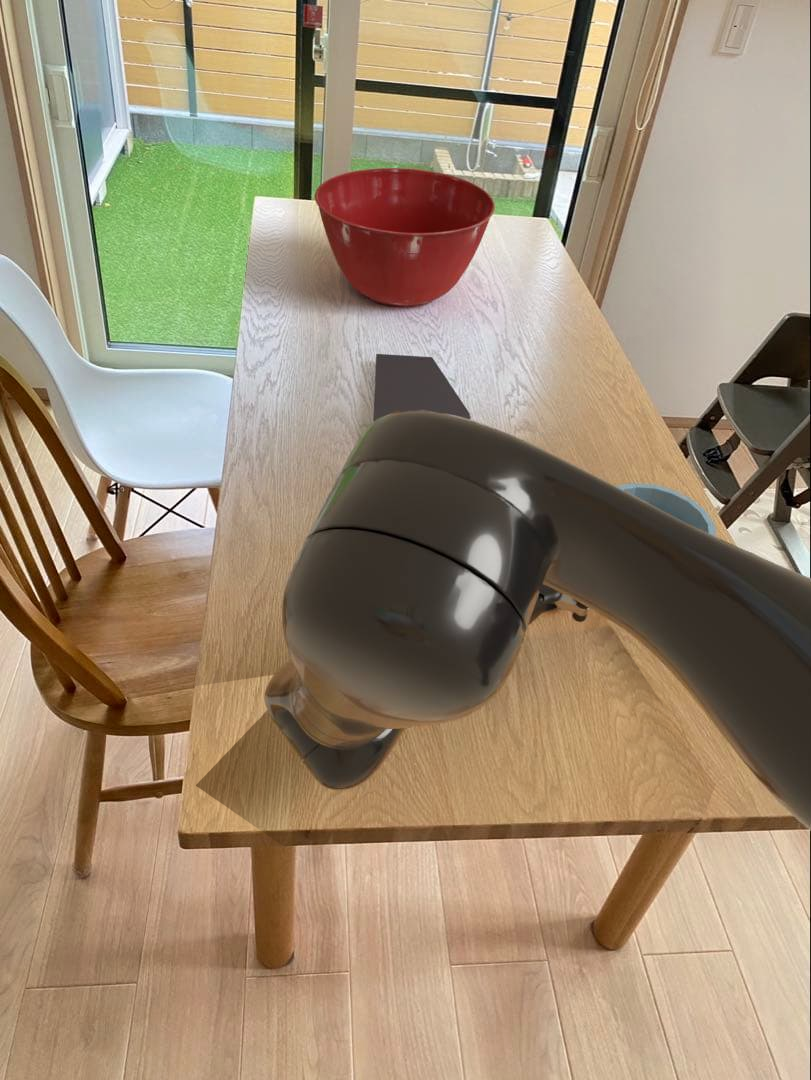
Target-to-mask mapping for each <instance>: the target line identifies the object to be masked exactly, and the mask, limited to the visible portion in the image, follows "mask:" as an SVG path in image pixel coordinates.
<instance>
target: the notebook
mask: <svg viewBox="0 0 811 1080" xmlns="http://www.w3.org/2000/svg"><path fill="white" fill-rule="evenodd" d="M373 399H374V401H373V421H372V423H373V422H374V421H375V420H377V419H378V418H381V417H383V416H386V415H388V414H391V413H393V412H398V411H408V410H426V411H432V412H439V413H445V414H450V415H456V416H459V417H463V418H466V419H469V420H471V414H470V411H469V410H468V409H467V407H466V406H465V404H464V403H463V401H462V400H461V398H460V397H459V395H458V394H457V392H456V390H455V389H454V388H453V386H452V385H451V383H450V382H449V380H448V379H447V377H446V376H445V374H444V373H443V371H442V370H441V368H440V367H439V365H438V364H437V362H436V361H435V360H434V358H433V357H432V356H422V355H421V356H420V355H419V356H418V355H406V354H405V355H404V354H402V355H401V354H387V353H376V354H375V375H374V397H373Z"/></svg>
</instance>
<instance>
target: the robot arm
mask: <svg viewBox="0 0 811 1080" xmlns="http://www.w3.org/2000/svg"><path fill="white" fill-rule="evenodd" d="M373 421H374V420H373ZM373 421H372V423H371V424H369V425H368V426H367V428H366V429H365V430H364V432H362V434H361V436H359V439H358V440H357V442H356V443H355V445H354V446H353V448H352V449H351V452H350V454H349V455H348V457H347V459H346V461H345V463H344V465H343V467H342V469H341V471H340V473H339V474H338V477H337V478H336V480H335V482H334V484H333V486H332V488H331V490H330V491H329V493H328V495H327V497H326V499H325V501H324V504H323V506H322V507H321V509H320V511H319V513H318V515H317V516H316V519H315V521H314V522H313V524H312V527H311V528H310V530H309V532H308V534H307V536H306V539H305V540H304V542H303V545H302V547H301V548H300V550H299V553H298V554H297V556H296V559H295V561H294V563H293V565H292V568H291V570H290V572H289V574H288V578H287V581H286V585H285V588H284V592H283V598H282V604H281V605H282V606H281V619H282V620H281V621H282V631H283V637H284V642H285V645H286V647H287V648H286V649H287V651H288V654H289V656H290V660H289V661H287V662H285V664H283V665H282V666H281V667H280V668H279V669H278V670H277V671H276V672H275V673H274V675H272V677H271V679H270V680H269V682H268V683H267V685H266V688H265V691H264V697H263V699H264V704H265V707H266V710H267V712H268V714H269V715H270V717H271V719H272V721H273V722H274V724H276V726H277V728H278V729H279V730H280V732H281V733H282V735H283V737H284V738H285V739H286V740H287V741H288V743H289V744H290V746H291V747H292V748H293V750H294V751H295V753H296V754H297V756H298V757H299V758H300V760H302V762H303V764H304V765H305V767H306V768H307V770H308V771H309V773H310V774H311V775H312V777H313V778H314V780H316V782H317V783H318V784H319V785H320V786H322V787H324V788H326V789H328V790H332V791H346V790H351V789H354V788H356V787H358V786H361V785H363V784H364V783H366V782H367V781H368V780H369V779H371V778H372V777H373V776H374V775H375V774H376V772H378V770H379V769H380V768H381V767H382V765H383V764H384V763H385V761H386V760H387V759H388V757H389V756H390V754H391V753H392V751H393V749H395V746H397V743H398V741H399V740H400V739H401V738H402V736H403V734H404V732H405V731H406V729H407V728H408V729H409V728H414V727H415V728H416V727H426V726H427V727H428V726H435V725H441V724H447V723H450V722H451V723H452V722H455V721H457V720H460V719H461V720H462V719H463V718H466V717H469V716H470V715H472V714H473V713H476V712H478V711H479V710H480V709H482V708H483V707H485V706H486V705H488V703H490V702H491V701H492V700H493V699H494V698H495V697H496V696H497V695H498V693H499V692H500V691H501V689H502V688H503V686H504V685H505V683H506V682H507V680H508V678H509V676H510V675H511V672H512V670H513V668H514V666H515V663H516V661H517V659H518V656H519V654H520V652H521V648H522V644H523V643H524V639H525V636H526V633H527V632H526V631H527V629H528V628H529V627H528V626H529V625H531V624H532V623H533V622H534V621H536V620H537V618H539V617H540V616H541V615H542V614H544V613H548V612H553V611H555V610H557V609H556V608H558V607H559V608H562V609H563V610H565V611H568V612H571V613H572V615H571V616H572V619H573V620H575V622H579V623H582V622H585V621H586V619H587V616H588V614H589V609H590V610H592V611H593V612H596V613H597V614H598V615H600V616H602V617H604V618H606V619H607V620H609V621H611V622H612V623H614V624H615V625H617V626H618V627H620V628H621V629H623V630H624V631H625V632H627V633H628V634H629V635H631V636H632V637H633V638H635V639H636V640H638V642H639V643H641V645H643V646H644V647H645V648H646V649H647V650H648V651H650V652H651V653H652V654H653V655H654V656H655V657H656V658H657V659H658V660H659V661H660V662H661V663H662V664H663V665H664V666H665V667H666V668H667V669H668V671H670V672H671V673H672V674H673V675H674V677H675V678H676V679H677V681H678V682H679V683H680V684H681V685H682V686H683V687H684V688H685V689H686V691H687V692H688V694H690V696H691V697H692V698H693V700H694V701H695V702H696V703H697V704H698V706H699V707H700V708H701V710H702V711H703V712H704V713H705V714H706V716H707V717H708V719H709V720H710V721H711V722H712V724H713V725H714V727H716V729H717V730H718V732H719V733H720V734H721V736H722V737H723V738H724V739H725V740H726V742H727V743H728V744H729V745H730V747H731V748H732V749H733V750H734V752H735V753H736V754H737V756H738V757H739V758H740V760H741V761H742V762H743V764H745V766H747V768H748V769H749V770H750V772H752V774H753V775H754V776H755V777H756V779H758V782H760V783H761V784H762V786H763V787H764V788H765V789H766V791H768V792H769V793H770V795H772V796H773V797H774V798H775V800H776V801H777V802H778V803H779V804H780V805H781V806H782V807H783V808H784V809H785V810H787V811H788V813H790V814H791V815H792V817H794V818H795V819H796V820H797V821H799V823H801V824H802V825H803V826H804V827H806V828H807V829H808V830H809V831H811V577H809V576H806V575H804V574H801V573H799V572H796V571H795V570H792V569H789V568H787V567H785V566H782V565H780V564H777V563H775V562H773V561H771V560H769V559H766V558H764V557H761V556H759V555H757V554H755V553H752V552H750V551H748V550H745V549H744V548H741V547H739V546H737V545H735V544H733V543H730V542H728V541H726V540H724V539H721V538H719V537H717V536H716V537H715V536H713V535H711V534H709V533H707V532H704V531H702V530H700V529H698V528H696V527H694V526H692V525H690V524H688V523H686V522H684V521H682V520H680V519H678V518H676V517H675V516H673V515H671V514H669V513H667V512H665V511H663V510H661V509H659V508H657V507H655V506H653V505H651V504H649V503H647V502H645V501H643V500H641V499H639V498H638V497H636V496H634V495H632V494H630V493H628V492H626V491H624V490H622V489H620V488H618V487H616V486H617V485H615V484H613V483H611V482H609V481H606V480H604V479H603V478H600V477H599V476H597V475H594V474H593V473H591V472H589V471H587V470H585V469H583V468H581V467H579V466H577V465H575V464H573V463H571V462H569V461H567V460H565V459H564V458H561V457H559V456H556V455H555V454H553V453H551V452H549V451H547V450H545V449H543V448H541V447H538V446H536V445H534V443H530V442H528V441H526V440H524V439H521V438H519V437H517V436H515V435H512V434H510V433H508V432H505V431H502V430H500V429H498V428H495V427H492V426H490V425H487V424H483V423H481V422H479V421H475V420H472V419H470V420H469V419H466V418H463V417H459V416H456V415H450V414H445V413H439V412H432V411H426V410H408V411H398V412H393V413H391V414H388V415H386V416H383V417H381V418H378V419H377V420H375V421H374V422H373ZM562 593H563V594H562ZM562 609H561V610H562Z"/></svg>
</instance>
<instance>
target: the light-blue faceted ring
mask: <svg viewBox="0 0 811 1080" xmlns="http://www.w3.org/2000/svg"><path fill="white" fill-rule="evenodd" d="M615 486H616V487H618V488H620V489H622V490H624V491H626V492H628V493H630V494H632V495H634V496H636V497H638V498H639V499H641V500H643V501H645V502H647V503H649V504H651V505H653V506H655V507H657V508H659V509H661V510H663V511H665V512H667V513H669V514H671V515H673V516H675V517H676V518H678V519H680V520H682V521H684V522H686V523H688V524H690V525H692V526H694V527H696V528H698V529H700V530H702V531H704V532H707V533H709V534H711V535H713V536H715V537H717V532H716V525H715V523H714V521H713V520H712V518H711V516H710V515H709V513H708V512H707V511H706V509H704V508H703V507H702V506H701V505H699V504H698V503H697V502H696V501H695V500H694V499H692V498H690V497H688V496H686V495H685V494H683V493H682V492H681V493H680V492H679V491H677V490H675V489H672V488H668V487H665V486H661V485H659V484H656V483H655V484H654V483H642V482H630V483H624V484H623V483H622V484H617V485H615Z"/></svg>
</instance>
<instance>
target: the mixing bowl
mask: <svg viewBox="0 0 811 1080" xmlns="http://www.w3.org/2000/svg"><path fill="white" fill-rule="evenodd" d="M314 200H315V203H316V204H317V206H318V210H319V214H320V218H321V221H322V225H323V228H324V232H325V235H326V238H327V241H328V245H329V247H330V248H331V249H330V250H331V252H332V254H333V256H334V258H335V260H336V263H337V265H338V267H339V269H340V271H341V272H342V274H343V276H344V277H345V279H346V280H347V281H348V283H349V284H350V285H351V286H352V287H353V289H355V290H356V291H358V292H359V293H360V294H362V295H363V296H365V297H367V298H368V297H369V298H368V299H370V298H371V299H373V300H375V301H377V302H376V303H378V302H379V303H378V304H381V303H382V304H381V305H385V306H389V307H397V308H398V307H399V308H412V307H420V306H424V305H426V304H429V303H432V302H433V301H435V300H438V299H440V298H441V297H443V296H445V295H446V294H447V293H449V292H450V291H451V290H452V289H453V288H454V287H455V286H456V285H457V283H458V282H459V281H460V279H461V278H462V277H463V275H464V273H465V272H466V271H467V269H468V267H469V265H470V264H471V262H472V261H473V258H474V257H475V254H476V252H477V251H478V249H479V246H480V245H481V242H482V240H483V238H484V235H485V232H486V230H487V228H488V224H489V223H490V220H491V218H492V216H493V215H494V214H495V213H494V212H495V209H496V205H495V204H496V203H495V201H494V199H493V197H492V196H491V195H490V194H489V193H488V192H487V191H486V190H484V189H483V188H482V187H481V186H478V185H477V184H475V183H473V182H470V181H469V180H466V179H463V178H460V177H457V176H455V175H450V174H446V173H442V172H435V171H432V170H426V169H425V170H424V169H416V168H402V167H384V168H383V167H380V168H369V169H368V168H367V169H359V170H354V171H349V172H345V173H342V174H338V175H335V176H333V177H331V178H329V179H327V180H325V181H323V182H322V183H320V185H319V186H318V187H317V189H316V191H315V193H314ZM371 299H370V300H371ZM373 300H372V301H373ZM375 301H374V302H375Z"/></svg>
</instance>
